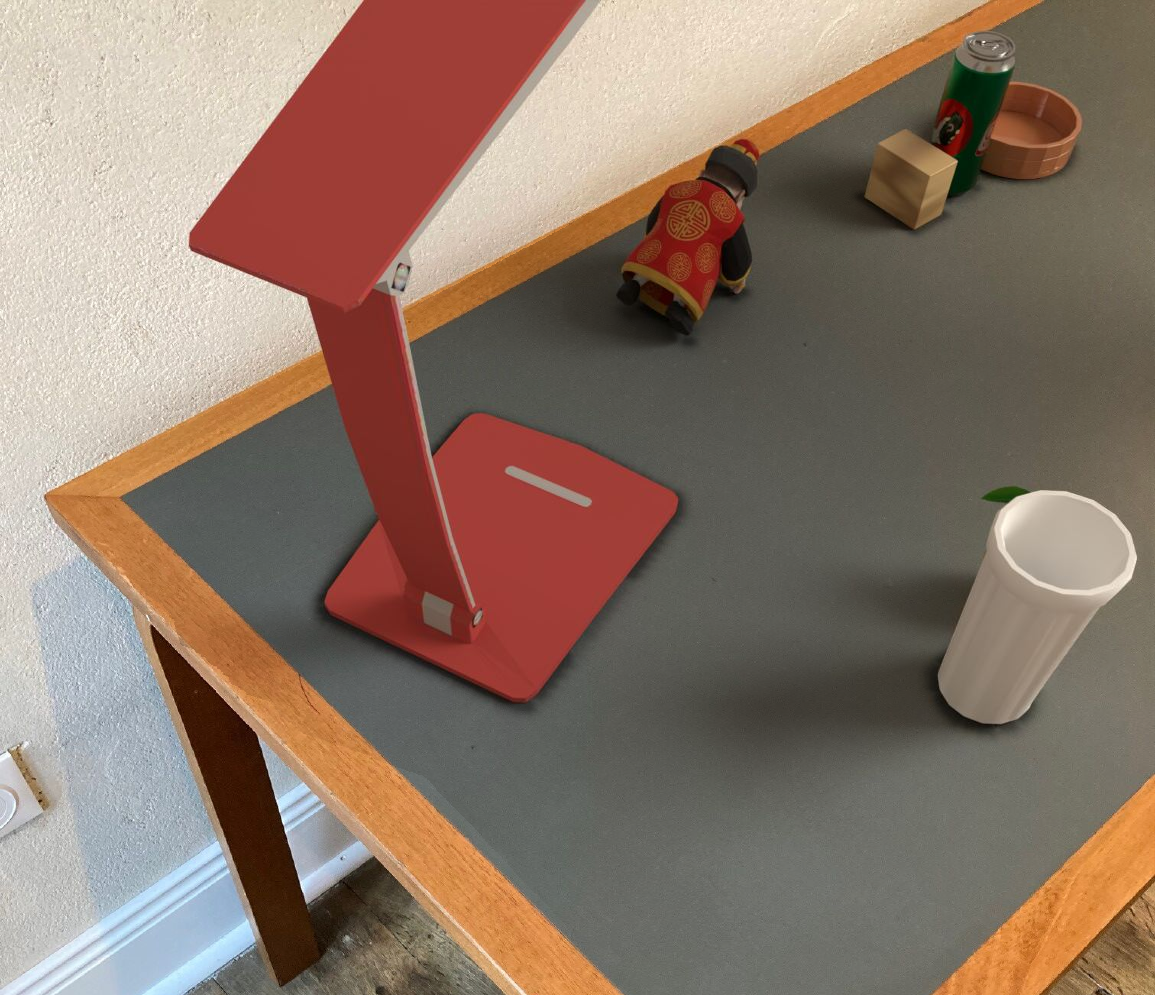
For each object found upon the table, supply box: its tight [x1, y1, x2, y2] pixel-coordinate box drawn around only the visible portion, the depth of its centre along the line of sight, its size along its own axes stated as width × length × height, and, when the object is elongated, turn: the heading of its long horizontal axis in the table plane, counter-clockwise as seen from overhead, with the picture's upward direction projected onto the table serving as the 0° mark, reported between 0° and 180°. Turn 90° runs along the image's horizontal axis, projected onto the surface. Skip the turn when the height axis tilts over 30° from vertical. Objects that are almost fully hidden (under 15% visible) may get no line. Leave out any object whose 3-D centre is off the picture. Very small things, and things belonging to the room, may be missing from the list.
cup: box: [937, 489, 1138, 725], centre depth 71 cm, size 8×8×14 cm
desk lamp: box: [188, 0, 679, 703], centre depth 67 cm, size 18×38×40 cm, turn 151°
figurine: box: [615, 138, 761, 336], centre depth 94 cm, size 10×10×15 cm
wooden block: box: [864, 128, 958, 231], centre depth 102 cm, size 6×4×5 cm, turn 39°
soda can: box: [928, 30, 1017, 197], centre depth 101 cm, size 5×5×12 cm
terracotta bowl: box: [981, 81, 1083, 180], centre depth 108 cm, size 11×11×3 cm
